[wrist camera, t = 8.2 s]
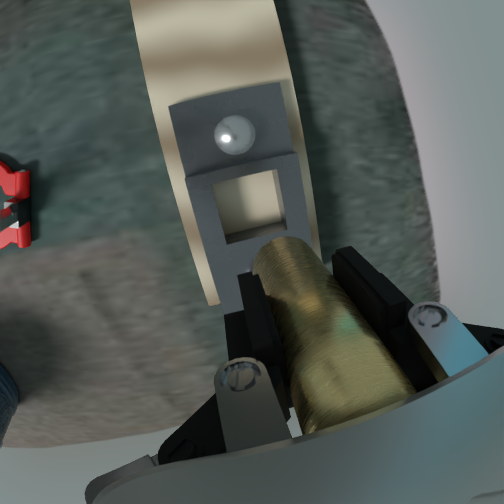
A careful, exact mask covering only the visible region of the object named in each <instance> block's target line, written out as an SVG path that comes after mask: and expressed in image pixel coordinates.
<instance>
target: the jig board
mask: <svg viewBox="0 0 504 504" xmlns="http://www.w3.org/2000/svg"><path fill="white" fill-rule="evenodd" d="M130 3H131V9H132V14H133V20H134V25H135V31H136V36H137V41H138V46H139V51H140V56H141V61H142V65H143V70H144V75H145V79H146V84H147V88H148V93H149V97H150V101H151V106H152V110H153V114H154V118H155V122H156V126H157V130H158V134H159V138H160V142H161V146H162V150H163V154H164V158H165V161H166V165H167V169H168V173H169V176H170V180H171V184H172V187H173V191H174V194H175V198H176V201H177V205H178V208H179V212H180V215H181V219H182V222H183V225H184V229H185V232H186V235H187V239H188V242H189V245H190V248H191V252H192V255H193V258H194V261H195V265H196V268H197V271H198V274H199V277H200V280H201V283H202V286H203V289H204V292H205V295H206V298H207V301H208V304H209V306H212V305H216V304H220V300H219V297H218V294H217V291H216V287H215V284H214V281H213V278H212V274H211V271H210V268H209V264H208V261H207V257H206V254H205V251H204V247H203V244H202V240H201V237H200V233H199V230H198V226H197V223H196V219H195V216H194V212H193V209H192V205H191V201H190V198H189V194H188V190H187V187H186V183H185V173H184V169H183V165H182V161H181V158H180V154H179V150H178V146H177V142H176V138H175V134H174V130H173V125H172V121H171V117H170V113H169V109H168V106H170V105H174V104H177V103H181V102H185V101H188V100H192V99H196V98H200V97H205V96H209V95H213V94H218V93H222V92H227V91H232V90H237V89H242V88H247V87H253V86H259V85H265V84H271V83H277V82H280V85H281V90H282V94H283V99H284V104H285V109H286V114H287V119H288V124H289V129H290V134H291V140H292V145H293V151H294V152H297V153H298V158H299V163H300V169H301V175H302V181H303V187H304V193H305V200H306V206H307V213H308V220H309V227H310V234H311V241H312V248H313V251H314V252H315V253H316V255H317V256H318V257H319V258H320V260H321V261H322V258H321V249H320V241H319V233H318V226H317V218H316V211H315V204H314V197H313V190H312V184H311V177H310V171H309V165H308V159H307V153H306V147H305V141H304V136H303V130H302V125H301V120H300V114H299V109H298V104H297V99H296V94H295V89H294V85H293V80H292V75H291V71H290V66H289V62H288V57H287V53H286V49H285V45H284V40H283V36H282V32H281V28H280V24H279V20H278V16H277V12H276V9H275V5H274V1H273V0H130ZM212 186H213V190H214V194H215V198H216V202H217V206H218V210H219V214H220V218H221V222H222V226H223V230H224V233H225V235H226V234H230V233H234V232H238V231H242V230H246V229H250V228H254V227H259V226H263V225H267V224H271V223H275V222H279V221H281V217H280V211H279V206H278V200H277V195H276V190H275V184H274V179H273V174H272V170H270V171H265V172H261V173H256V174H252V175H248V176H243V177H239V178H235V179H231V180H226V181H222V182H218V183H214V184H212Z"/></svg>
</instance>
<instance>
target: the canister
mask: <svg viewBox="0 0 504 504" xmlns="http://www.w3.org/2000/svg"><path fill="white" fill-rule="evenodd" d="M18 400H19V394H18V390H17V387H16V385H15V383H14V381H13V380H12V378H11V377H10V375H9V374H8V373H7V371H6V370H5V369H4V368H3V367H2V365H1V364H0V448H1V447H2V445H3V442H2V441H3V438H4V436H5V433H6V431H7V428H8V426H9V423H10V421H11V418H12V416H13V415H14V414H15V412H16V409H17V406H18Z"/></svg>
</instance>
